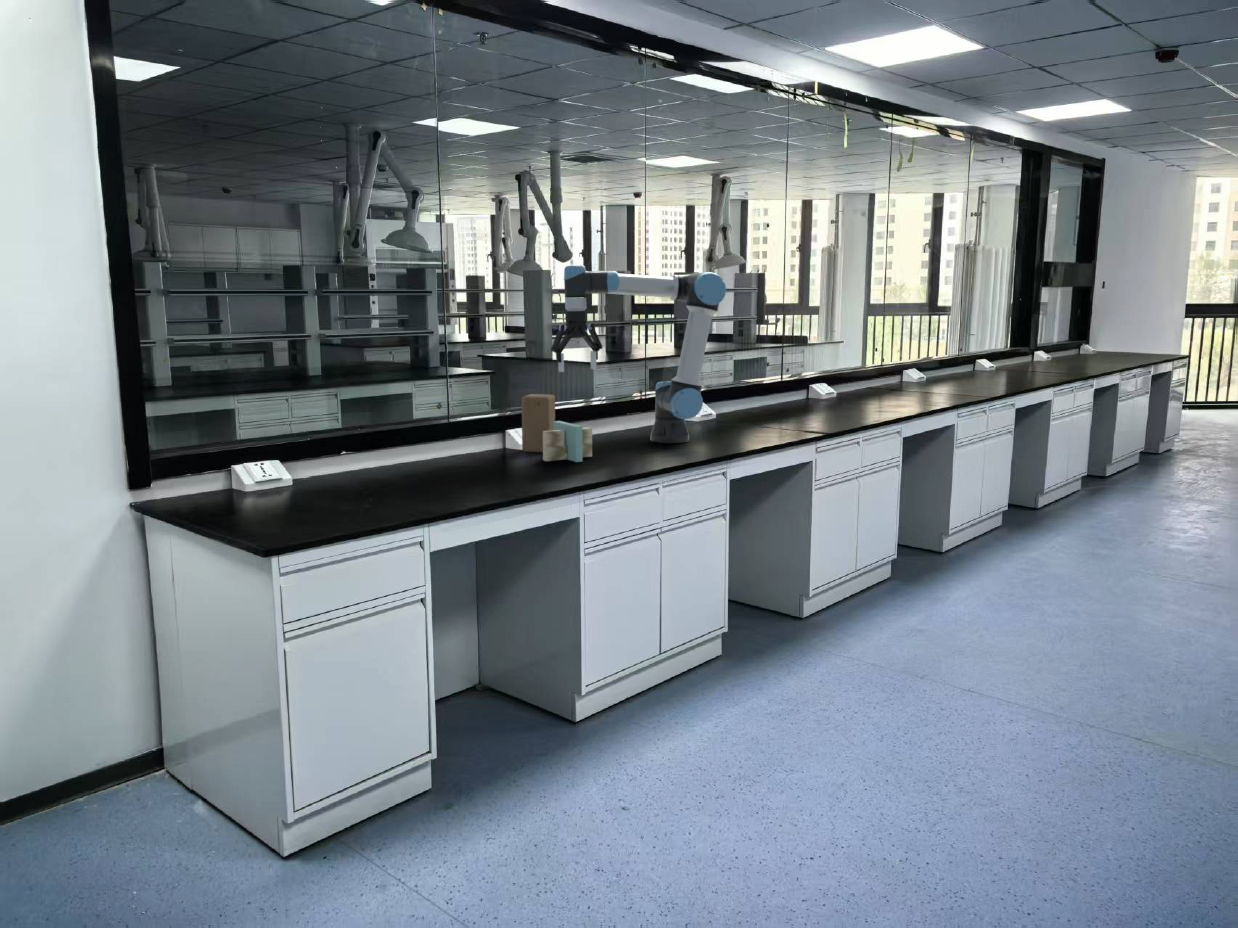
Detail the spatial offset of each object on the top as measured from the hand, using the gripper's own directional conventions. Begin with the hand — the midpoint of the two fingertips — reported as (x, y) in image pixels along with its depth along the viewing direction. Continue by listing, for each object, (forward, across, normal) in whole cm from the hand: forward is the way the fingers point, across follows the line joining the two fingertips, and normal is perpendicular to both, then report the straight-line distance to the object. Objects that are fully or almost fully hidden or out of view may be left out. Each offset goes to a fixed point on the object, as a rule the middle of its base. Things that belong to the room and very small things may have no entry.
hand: (577, 370), depth 318 cm
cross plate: (+29, +13, +12) cm, 34 cm away
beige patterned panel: (+29, +13, +12) cm, 34 cm away
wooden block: (+29, +13, -8) cm, 32 cm away
